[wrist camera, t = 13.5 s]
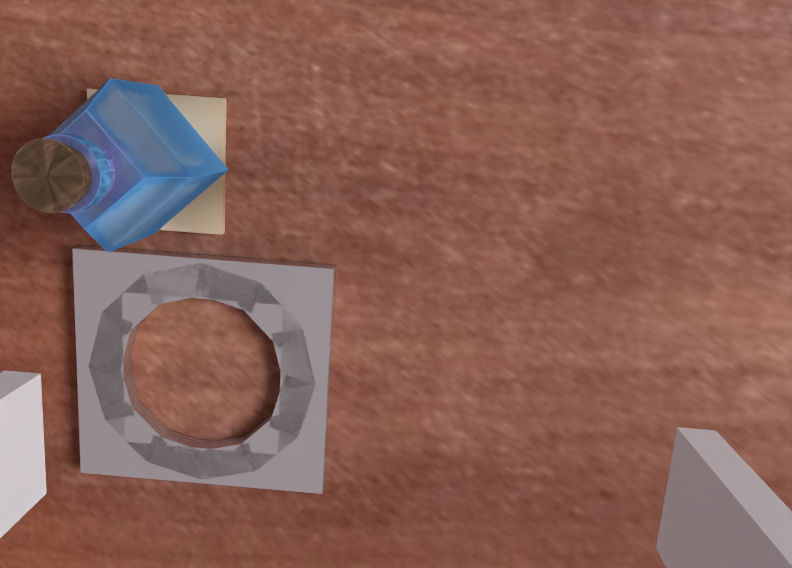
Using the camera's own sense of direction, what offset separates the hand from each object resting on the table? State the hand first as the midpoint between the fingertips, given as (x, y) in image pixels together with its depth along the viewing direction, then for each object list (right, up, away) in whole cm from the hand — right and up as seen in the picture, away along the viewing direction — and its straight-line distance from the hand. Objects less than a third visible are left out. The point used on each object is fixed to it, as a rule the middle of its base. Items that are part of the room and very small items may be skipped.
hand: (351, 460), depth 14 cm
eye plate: (-11, -2, +30) cm, 33 cm away
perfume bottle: (-13, +11, +27) cm, 32 cm away
